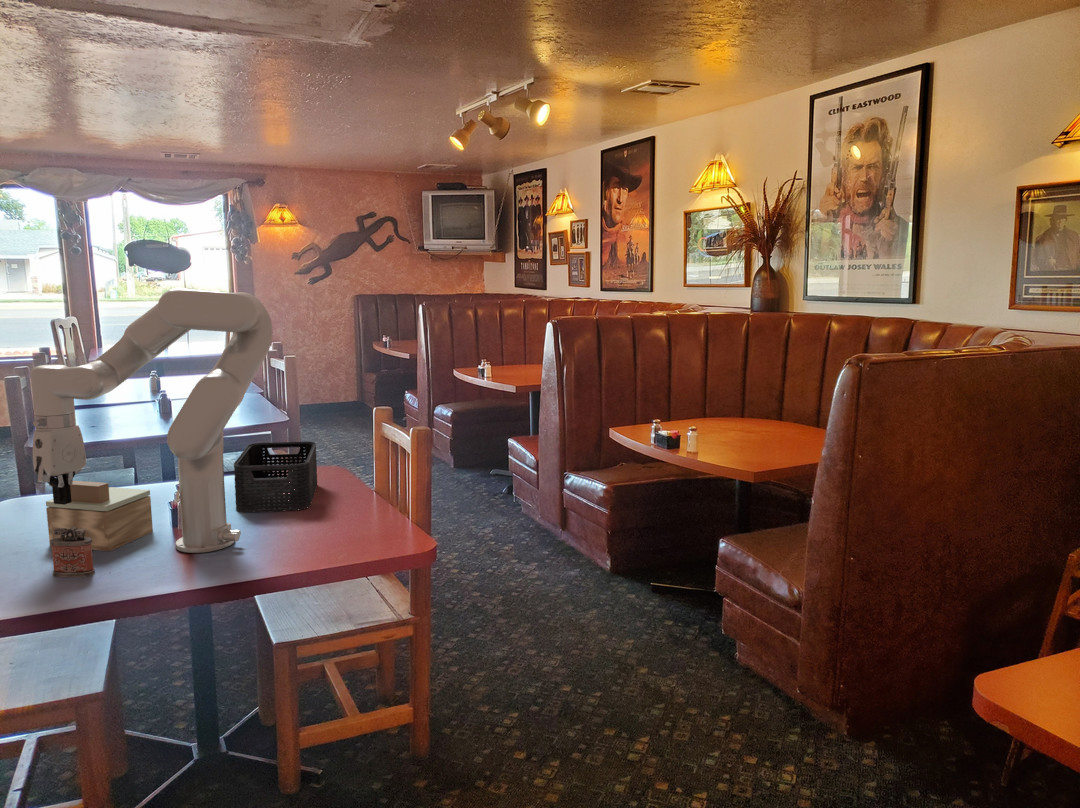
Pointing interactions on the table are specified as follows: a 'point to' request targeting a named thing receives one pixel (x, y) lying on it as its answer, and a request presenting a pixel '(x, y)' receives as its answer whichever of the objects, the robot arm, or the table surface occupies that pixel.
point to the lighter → (72, 553)
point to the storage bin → (275, 478)
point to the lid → (99, 496)
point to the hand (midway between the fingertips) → (62, 503)
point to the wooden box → (105, 523)
